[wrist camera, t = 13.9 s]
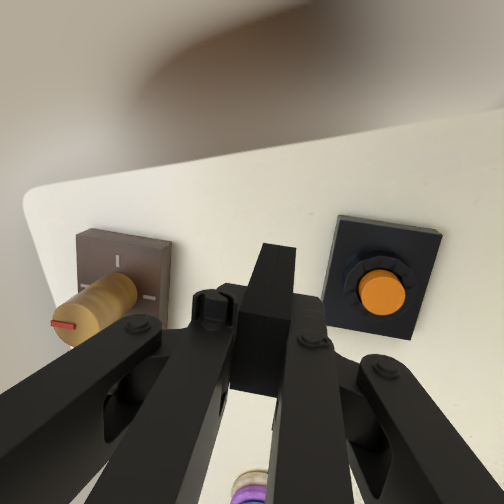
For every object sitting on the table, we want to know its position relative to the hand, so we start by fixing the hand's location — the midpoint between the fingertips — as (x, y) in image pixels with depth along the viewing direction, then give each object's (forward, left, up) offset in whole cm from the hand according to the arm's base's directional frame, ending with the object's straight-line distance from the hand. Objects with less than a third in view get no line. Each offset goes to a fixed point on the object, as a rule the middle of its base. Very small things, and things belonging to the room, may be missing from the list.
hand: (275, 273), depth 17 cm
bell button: (+7, +10, -19) cm, 23 cm away
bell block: (+7, +10, -23) cm, 26 cm away
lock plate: (+13, -18, -23) cm, 32 cm away
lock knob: (+13, -18, -20) cm, 30 cm away
